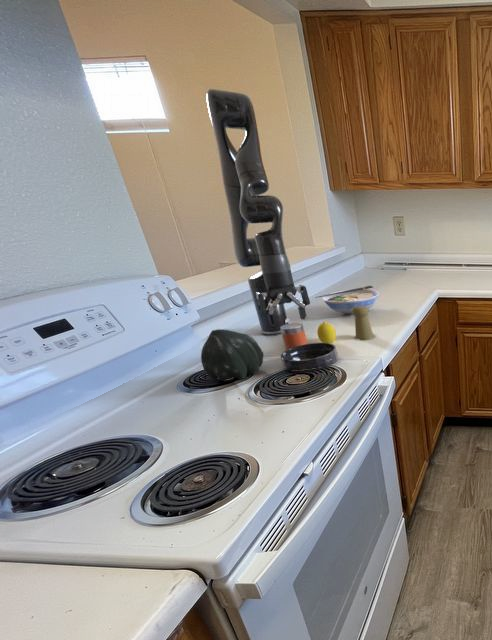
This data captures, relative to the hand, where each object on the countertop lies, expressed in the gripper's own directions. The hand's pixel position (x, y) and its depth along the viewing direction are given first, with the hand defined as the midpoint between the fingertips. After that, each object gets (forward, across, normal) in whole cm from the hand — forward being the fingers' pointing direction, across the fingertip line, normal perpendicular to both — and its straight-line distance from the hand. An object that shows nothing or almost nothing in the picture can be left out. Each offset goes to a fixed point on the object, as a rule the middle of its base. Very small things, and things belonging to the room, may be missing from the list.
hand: (289, 322), depth 129 cm
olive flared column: (+10, -22, +3) cm, 25 cm away
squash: (+10, +18, +6) cm, 22 cm away
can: (+10, 0, +1) cm, 10 cm away
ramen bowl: (+11, -36, -31) cm, 49 cm away
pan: (+10, +1, +14) cm, 17 cm away
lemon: (+10, -10, +1) cm, 15 cm away
